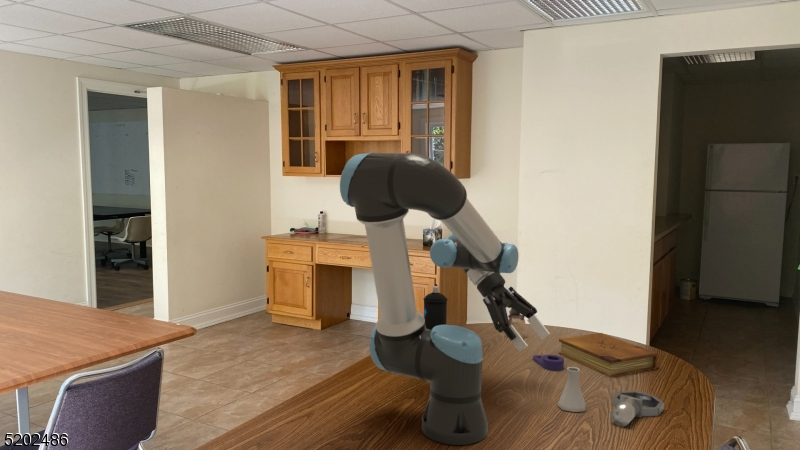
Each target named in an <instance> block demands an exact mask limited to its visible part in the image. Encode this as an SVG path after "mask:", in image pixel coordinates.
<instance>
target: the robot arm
mask: <svg viewBox="0 0 800 450" xmlns="http://www.w3.org/2000/svg"><path fill="white" fill-rule="evenodd" d="M455 175H456V174H454V173H453V172H451V171H450V170H449V169H448V168H447V167H445V166H444V165H442V164H441V163H440V162H437V160H435V159H432V158H431V157H429V156H426V155H423V154H419V153H416V152H415V153H414V152H406V153H405V152H404V153H398V152H397V153H393V152H392V153H389V152H386V153H385V152H384V153H383V152H373V151H372V152H369V153H359V154H355V155H354V156H352V157H350V159H348V160H347V162H346V163H345V165H344V168H343V170H342V172H341V176H340V178H339V179H340V180H339V192H340V197H341V200H342V201H343V202H344V203H345V204H346V205H347V206H349V207H351V208H354V212H355V217H356V220H357V221H358V222H359V223H361V224H363V225H364V228H365V234H366V241H367V245H368V251H369V257H370V263H371V268H372V274H373V280H374V286H375V291H376V296H377V297H376V298H377V302H378V309H379V314H380V317H379V319H378V320H377V321H376V324H375V326H374V327H373V329H372V331H371V334H370V339H371V340H370V341H369V343H368V345H369V353H370V354H369V355H370V357H371V360H372V362H373V363H374V365H375V366H376V367H377V368H378V369H380V370H382V371H385V372H388V373H389V374H393V375H401V376H406V377H410V378H412V379H418V380H422V381H425V382H429V397H428V400H427V404H426V406H425V409H424V411H423V414H422V418H421V431H422V433H423V434H424V435H425V436H426V437H427V438H429V439H431V440H432V441H434V442H437V443H440V444H446V445H452V446H465V445H471V444H475V443H479V442H481V441H482V440H484V439H485V438H486V437H487V436H488V433H489V430H488V429H489V422H488V419H487V416H486V412H485V408H484V405H483V401H482V378H483V377H482V376H483V375H482V373H483V358H484V354H483V342H482V339H481V337H480V336H479V334H477V333H476V332H475V331H473V330H472V329H469V328H468V327H467V328H466V327H463V326H461V325H453V324H451V325H449V324H446V325H438V326H435V327H434V328H433V329H432V330H429V329H426V325H425V319H424V314H422V313H421V312H419V311H417V310H418V309H417V304H416V303H417V302H416V295H415V291H414V290H415V289H414V284H413V277H412V271H411V270H412V268H411V264H410V262H411V261H410V255H409V249H408V243H407V241H408V240H407V236H406V228H405V222H404V218H406V216H407V215H408V214H409V212H410V210H414V211H415V210H416V211H419V212H424V213H426V214H428V216H429V217H431V218H432V219H433V220H436V221H441V222H442V224H443V225H444V226H445V227H446V228H447V229H448V230H449V231H450V232H451V233H452V234H450V235H449V236H448V237H444V238H439V239H437V240H435V241H434V242H433V243H432V245H431V246H430V250H429V256H430V257H429V258H430V260H431V262H432V263H433V264H434V265H435V266H437V267H440V268H446V269H448V268H456V269H457V268H458V269H462V271H463V272H464V273H465V274H466V275H467V277H468V278H469V280H470V282H472V284H473V285H474V286H476V289H477V291H478V292H479V293H480V295H481V296H482V297H483V299H482V302H483V304H485V305H484V306H486V309H487V311H488V314H489V316H490V319H491V321H492V323H493V326H494V329H495V330H496V331H498V333H500V334H501V333H505V335H507V336H508V337H507V336H506V337H507V338H508V339H509V340H510V341H511V343H512V344H513V346H515V348H516V349H517V351H518V352H519V353H521V352H522V351H524V349H526V348H527V347H528V346H529V345H528V344H527V343H526V341H525V340H524V338H522V337H521V336H520V334H519V333H518V332H517V330H516V329H515V328H514V326H513V325H510V326H509V317H508V316H509V315H508V312H507V308H508V309H511V308H512V309H514V310H516V311H517V312H519V313H520V314H521V315H523V316H525V317H524V318H525V319H527V322H528V324H529V325H530V326H531V327H532V329H533V330H534V331H535V333H536V334H537V335H538V337H539V338H540V339H541V340H544V339H545V338H546V337H547V336H549V335H550V332H549V330H548V329H547V328H546V326H545V325H544V324H543V322H542V321H541V320H540V319H539V317H538V316H537V315H536V314H537V313H538V310H537V308H536V307H535V306H534V305H533V304H531V302H529V301H528V300H527V299H525V297H523V296H522V295H520V293H518V292H517V291H516V290H515V288H514V287H513V286H510V287H508V288H506V287H505V284H506V280H505V278H504V277H503V275H502V274H512V273H514V272H515V270H516V269H517V266H518V263H519V250H518V247H517V246H516V245H515V244H513V243H508V242H502V241H501V240H500V239H499V237H498V236H497V235H496V234H495V232H494V231H493V230H492V228H491V227H490V225H488V223H487V222H486V221H485V220H484V218H483V216H481V214H480V213H479V212H478V210H477V209H476V208H475V207H474V205H473V204H472V203H471V201H470V200H469V199H468V191H467V189H466V187H465V186H464V184H463V182H461V181H460V180H459V178H458V177H457V176H455Z"/></svg>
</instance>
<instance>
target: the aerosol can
mask: <svg viewBox="0 0 800 450" xmlns="http://www.w3.org/2000/svg"><path fill="white" fill-rule="evenodd" d="M439 291H440V290H439V286H437V285H433V286H432V292H430V293H428V294H426V295H425V297H423V316H424V319H425V325H426V329H429V330H432V329H433V328H434V327H435V326H438V325H447V312H448V311H447V308H448V307H447V306H448V305H447V304H448V300H449V299H448V298H447V297H446V296H445V295H444V294H443V293H440V292H439Z"/></svg>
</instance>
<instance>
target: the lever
mask: <svg viewBox="0 0 800 450" xmlns="http://www.w3.org/2000/svg"><path fill="white" fill-rule="evenodd" d="M532 361H533V362H534V363H536V364H537V365H539V366H540V367H541V368H543V369H544V370H546V371H551V372H561V371H564V369H565V368H564V366H565V358H564V356H562V355H558V354H545V355H539V354H536V355H533V356H532Z"/></svg>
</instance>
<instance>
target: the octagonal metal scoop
mask: <svg viewBox="0 0 800 450" xmlns="http://www.w3.org/2000/svg"><path fill="white" fill-rule="evenodd" d="M611 402H612V403H611V404H612V405H613V406H614V408H613V409H612V410H611V411H610V420H611V421H612V422H613V424H614V425H616V426H617V427H621V428H623V427H624V428H625V427H627V426H628V425H629V424H630V422H631V421H632V420H634V419H635V418H640V419H641V418H642V417H658V416H660V415H661V414H662V413H661V412H663V411H664V410H665V402H664V401H662V400H661V399H660V398H658V397H657V396H655V395H653V394H650V393H645V392H642V391H638V390H628V391H627V390H625V391H624V390H623V391H622V390H621V391H617V392H616V393H615V394H614V395H613V396H612V401H611Z"/></svg>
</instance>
